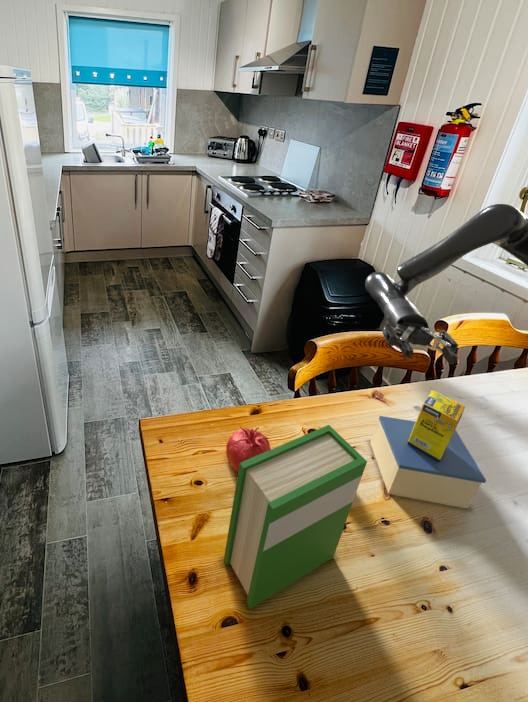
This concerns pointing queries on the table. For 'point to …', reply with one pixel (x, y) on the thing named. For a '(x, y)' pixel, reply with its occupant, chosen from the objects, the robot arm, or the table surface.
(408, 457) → the lid
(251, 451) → the pomegranate
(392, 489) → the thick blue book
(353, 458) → the hardback book
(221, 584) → the table surface
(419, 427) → the supplement box
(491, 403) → the table surface
